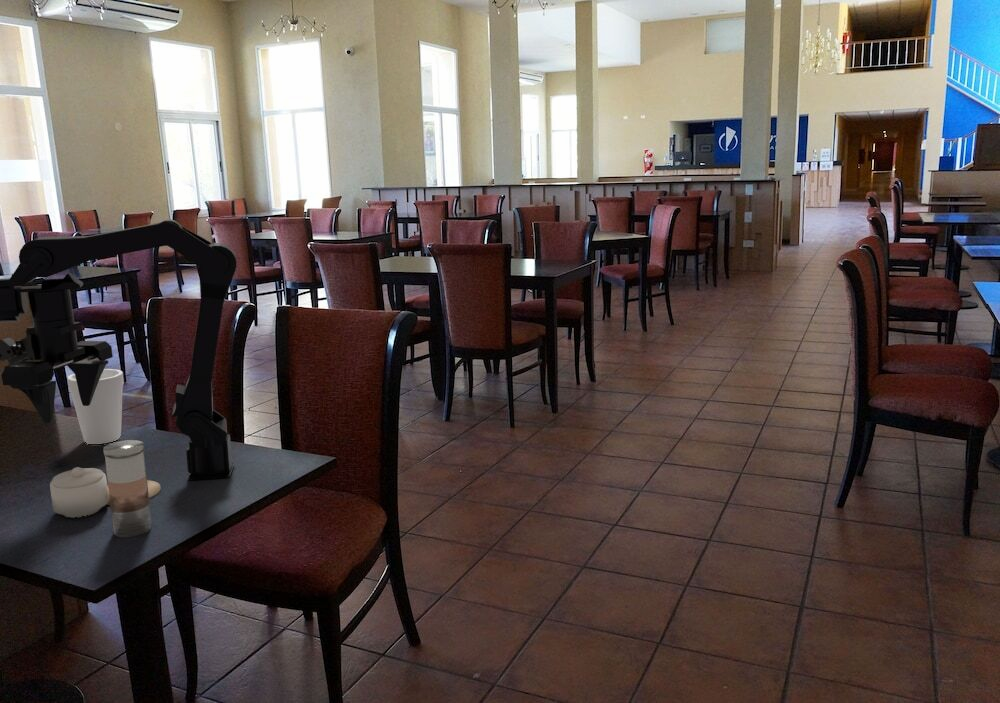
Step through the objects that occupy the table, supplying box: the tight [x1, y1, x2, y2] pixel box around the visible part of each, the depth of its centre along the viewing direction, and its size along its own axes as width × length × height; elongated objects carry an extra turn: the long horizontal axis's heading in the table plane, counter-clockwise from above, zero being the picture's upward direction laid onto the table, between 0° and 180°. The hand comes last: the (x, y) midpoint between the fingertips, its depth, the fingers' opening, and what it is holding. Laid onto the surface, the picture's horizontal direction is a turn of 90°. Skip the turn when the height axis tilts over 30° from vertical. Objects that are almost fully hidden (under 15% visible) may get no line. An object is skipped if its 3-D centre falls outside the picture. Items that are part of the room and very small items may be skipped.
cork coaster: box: [105, 479, 162, 507], centre depth 129 cm, size 10×10×1 cm
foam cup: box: [67, 368, 125, 445], centre depth 154 cm, size 10×9×13 cm
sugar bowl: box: [49, 466, 109, 519], centre depth 122 cm, size 8×8×7 cm
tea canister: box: [103, 439, 152, 538], centre depth 115 cm, size 5×5×13 cm
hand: (67, 414), depth 129 cm, fingers open, 9 cm apart
